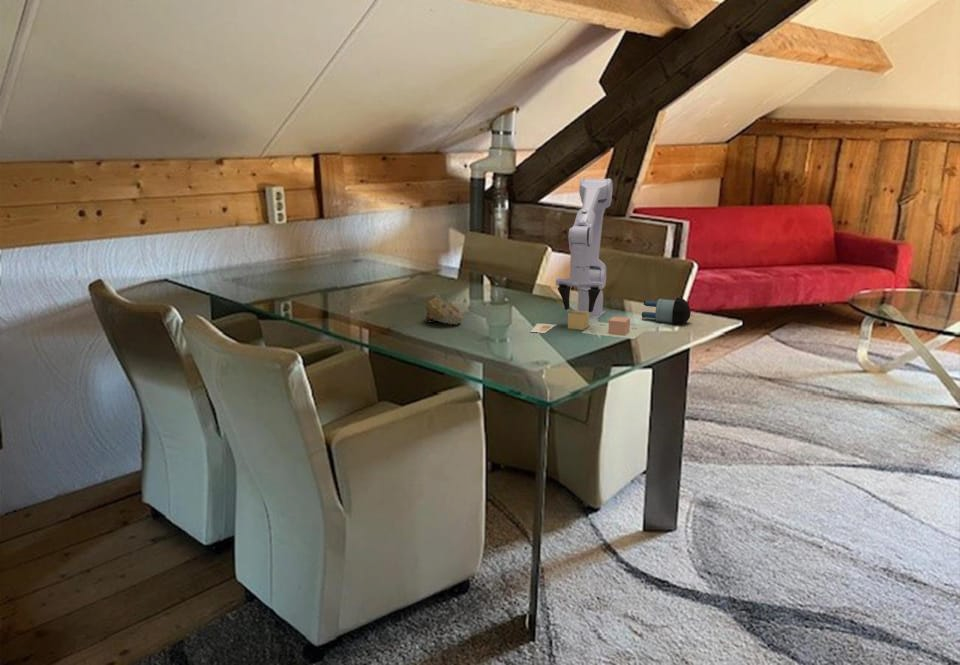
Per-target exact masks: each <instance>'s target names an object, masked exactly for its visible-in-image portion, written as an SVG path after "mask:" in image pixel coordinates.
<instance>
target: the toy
mask: <svg viewBox="0 0 960 665" xmlns="http://www.w3.org/2000/svg"><path fill="white" fill-rule="evenodd" d="M643 306H645V307H651V308H653V307H654V308H655V312H653V311H652V312H651V311H641V312H642V313H641V317H642V318H646V319H654V320H655V321H656V322H657V323H664V324H665V323H667V324H672V325H675V326H678V325H680V326H681V325H682V324H683V325H684V324H685V323H687V322H688V321H689V320H690V317H691V308H690V304H689V303H688V301H687V300H686V299H684V298H683V297H676V298H675V299H664V298H659V299H658V300H657V301H651V300H646V301H645V300H644V302H643Z"/></svg>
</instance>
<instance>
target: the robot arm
mask: <svg viewBox="0 0 960 665" xmlns="http://www.w3.org/2000/svg"><path fill="white" fill-rule="evenodd" d="M613 186H614V184H613V180H612V179H611V178H585V177H583V178H581V179H580V182H579V192H578V193H579V196H580V197H579V198H580V201H581V203H582V207H581V208H580V209H578V210H577V213H576V216H575V218H574V219H575V220H574V223H573V226H572V227H570V228H569V230H568V244H569V245H568V246H569V247H568V248H569V251H570V259H569V260H570V263H569V264H570V266H569V278H561V277H559V278H558V277H557V278H556V279H555V286H558V287H557V291H558V292H559V294H560V297H561V300H562V303H563V306H564V310H565V311H567V310H569V309H570V293H571V288H572V287H575V288H576V289H577V294H578V295H577V296H578V297H577V310H578V311H588V312H589V319H594V320H595V319H598V318H600V317H601V316H603V315H604V314H606V311H604V309H603V308H604V292H603V289H604V288H605V287H606V283H607V266H606V263H604V262H603V261H602V260H601V259H599V258H600V248H601V239H602V231H603V230H602V229H603V220H604V214H605V211H606V209H608V208H610V207H611V204H612V200H613V199H612V198H613V197H612V196H613V191H614V190H613V189H614V188H613Z"/></svg>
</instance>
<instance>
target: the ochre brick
mask: <svg viewBox="0 0 960 665" xmlns="http://www.w3.org/2000/svg"><path fill="white" fill-rule="evenodd" d="M588 327H590V318H589V312H588V311H578V309H577V310H576V309H574V310H572V311H570V312H569V313H568V314H567V329H571V330H581V331H582V330H583V331H584V330H586V329H587V328H588Z"/></svg>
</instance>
